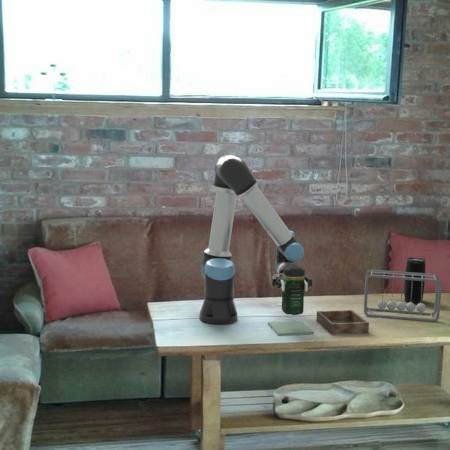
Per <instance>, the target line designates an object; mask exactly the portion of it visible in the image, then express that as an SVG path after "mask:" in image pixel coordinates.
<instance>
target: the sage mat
mask: <svg viewBox="0 0 450 450" xmlns="http://www.w3.org/2000/svg"><path fill="white" fill-rule="evenodd" d="M267 325H268V326H269V327H270V328H271V329H272V331H273V332H274V333H275V334H276V335H277V336H292V335H293V336H294V335H295V336H296V335H297V336H298V335H314V331H313V330H312V329H311V328H310V326H308V325H307V324H306V323H305V322H304V321H303V320H287V321H285V320H284V321H282V320H281V321H268V322H267Z"/></svg>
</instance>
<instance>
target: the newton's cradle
mask: <svg viewBox="0 0 450 450" xmlns="http://www.w3.org/2000/svg"><path fill="white" fill-rule="evenodd" d="M373 273H374V274H373ZM380 274H381V275H380ZM385 274H389V275H385ZM395 275H402V276H395ZM405 275H412V276H413V275H415V276H425V278H423V277H422V278H414V277H405ZM426 277H429V278H426ZM430 277H433V278H430ZM370 278H376V279H383V280H382V289H384V287H385V279H390V280H391V279H392V287H391V296H393V293H394V282H395V281H394V280H401V284H404V281H405V280H415V281H422V283H421V303H418V304H417V305H416V304H415V303H414V302H413V301H409V302H406V303H405V301H404V302H403V301H402V299H403V292H401V296H400V297H401V298H400V301H398V302H395V301H394V300H389V301H388V302H386V301H385V300H384V299H383V298H384V293H382V294H381V297H382V298H381V300H378V302H377V308H375V307H368V296H369V295H368V293H369V279H370ZM364 279H365V281H364V298H363V313H364V315H365V316H366V317H369V318H379V317H381V319H392V318H393V320H405V321H406V320H408V321H416V320H417V322H428V321H429V323H435V322H437V321H438V320H439V319H440V312H441V300H442V289H443V283H442V282H441V281H440V277H439V275H437V274H436V273H427V272H425V273H413V272H405V271H396V270H381V269H369V270H367V271H366V273H365V278H364ZM423 281H425V282H431V283H435V284H436V285H435V295H434V296H435V297H434V309H433V312H427V311H426V309H427V307H426V305H425V303H423V300H422V287H423ZM403 287H404V285H401V291H404V288H403ZM412 287H413V282H412V286H411V298H412ZM386 307H387V308H386ZM370 310H376V311H375V312H383V311H387V312H386V313H395V312H398V313H399V314H408V313H410V315H420V314H422V315H423V316H430V317H431V318H424V317H413V316H412V317H410V316H400V315H399V316H398V315H386V314H385V315H384V314H376V313H375V314H374V313H371V311H370ZM415 310H417V311H415ZM367 311H368V312H367ZM422 315H421V316H422ZM433 316H436V317H435V318H433Z"/></svg>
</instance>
